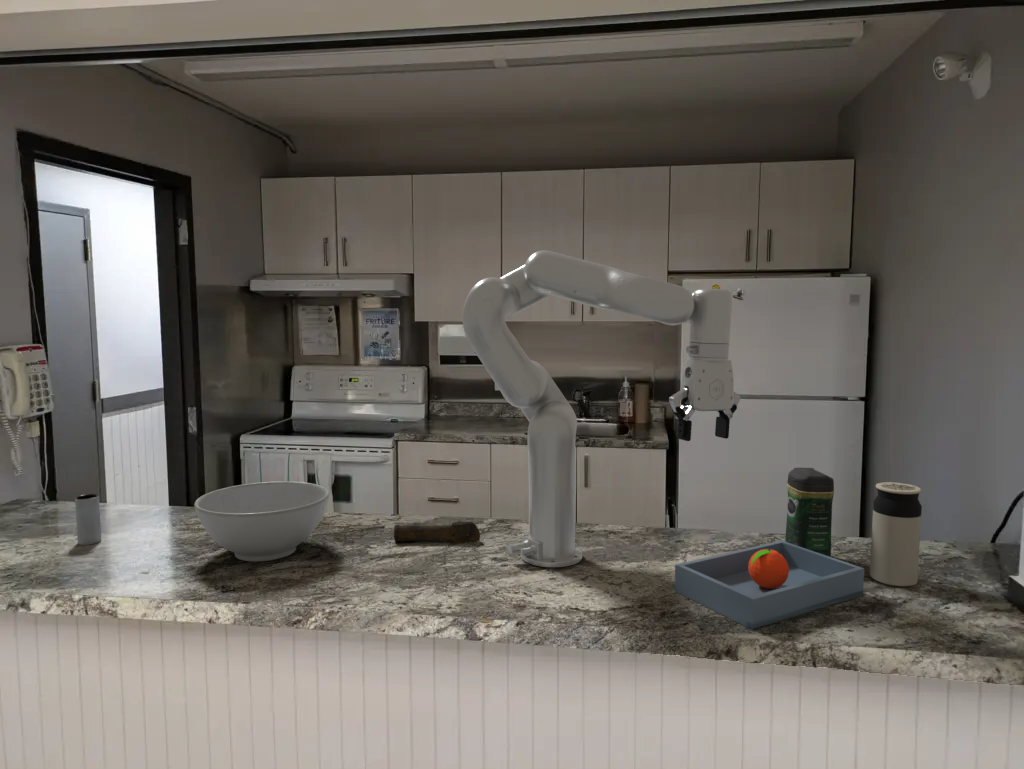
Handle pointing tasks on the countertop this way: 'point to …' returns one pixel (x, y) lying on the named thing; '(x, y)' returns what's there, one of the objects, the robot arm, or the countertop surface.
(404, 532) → the hand tool
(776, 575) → the clementine
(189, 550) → the countertop surface
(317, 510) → the decorative bowl
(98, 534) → the gray cylinder
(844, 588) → the bin
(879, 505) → the travel mug
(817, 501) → the coffee jar
